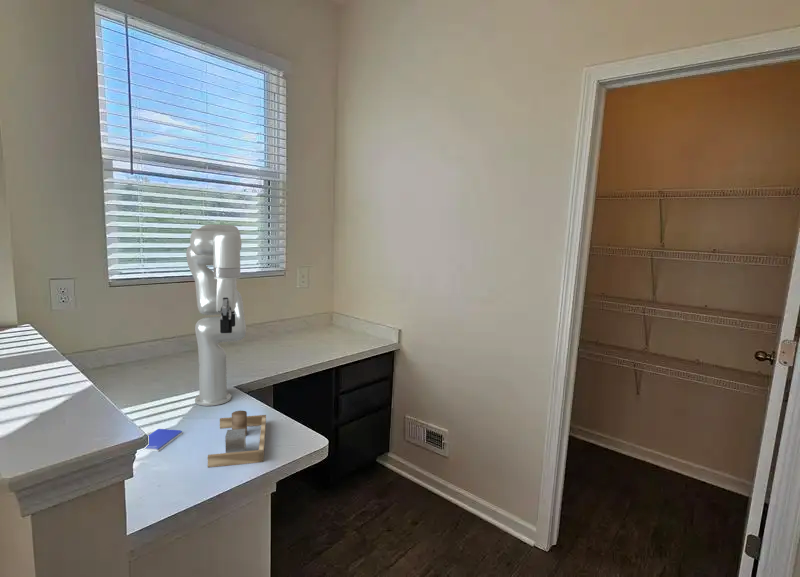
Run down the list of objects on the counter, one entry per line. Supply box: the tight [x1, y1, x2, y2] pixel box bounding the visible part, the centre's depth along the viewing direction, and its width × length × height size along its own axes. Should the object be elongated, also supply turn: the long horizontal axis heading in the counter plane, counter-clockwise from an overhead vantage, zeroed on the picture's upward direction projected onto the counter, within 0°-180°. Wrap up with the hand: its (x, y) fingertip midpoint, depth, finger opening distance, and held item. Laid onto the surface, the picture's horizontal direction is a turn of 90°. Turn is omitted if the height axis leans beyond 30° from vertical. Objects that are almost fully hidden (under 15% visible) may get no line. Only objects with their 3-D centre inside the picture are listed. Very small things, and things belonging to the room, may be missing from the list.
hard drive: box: [139, 428, 183, 452], centre depth 134 cm, size 2×8×12 cm
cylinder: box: [231, 410, 248, 436], centre depth 139 cm, size 4×4×7 cm
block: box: [224, 429, 247, 453], centre depth 128 cm, size 4×5×6 cm
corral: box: [207, 414, 267, 468], centre depth 134 cm, size 26×14×3 cm, turn 15°
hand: (228, 329), depth 136 cm, fingers open, 9 cm apart
